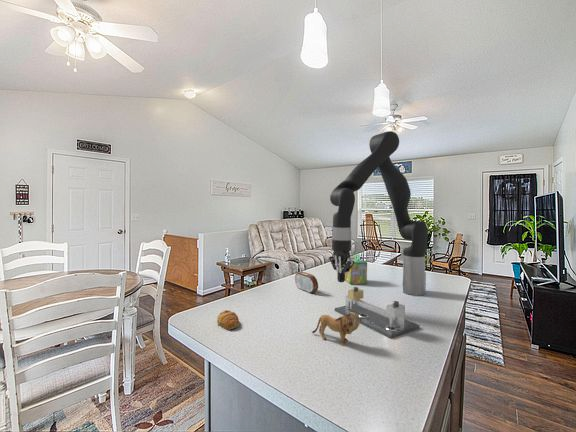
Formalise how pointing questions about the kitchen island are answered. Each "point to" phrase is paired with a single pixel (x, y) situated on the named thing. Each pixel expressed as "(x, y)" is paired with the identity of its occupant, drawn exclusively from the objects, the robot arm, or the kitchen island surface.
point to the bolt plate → (377, 321)
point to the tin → (306, 282)
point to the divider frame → (385, 311)
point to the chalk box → (357, 272)
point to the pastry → (228, 320)
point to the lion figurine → (339, 325)
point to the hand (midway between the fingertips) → (341, 281)
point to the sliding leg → (354, 295)
